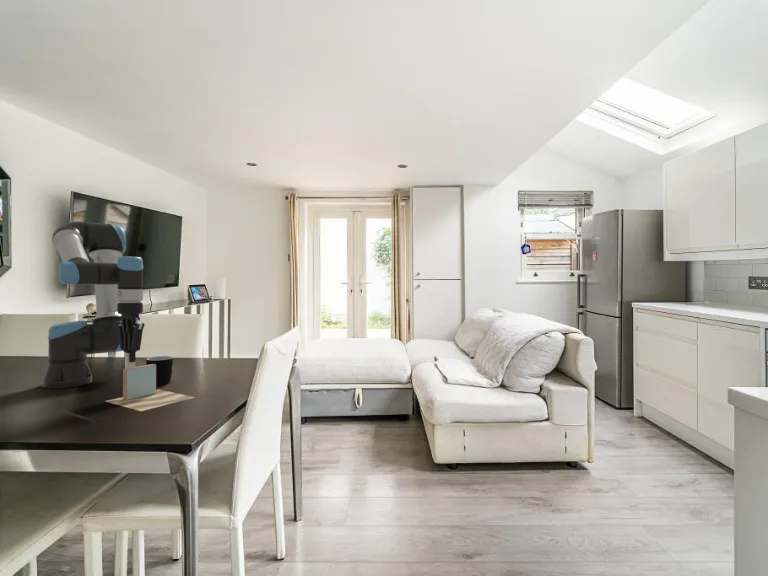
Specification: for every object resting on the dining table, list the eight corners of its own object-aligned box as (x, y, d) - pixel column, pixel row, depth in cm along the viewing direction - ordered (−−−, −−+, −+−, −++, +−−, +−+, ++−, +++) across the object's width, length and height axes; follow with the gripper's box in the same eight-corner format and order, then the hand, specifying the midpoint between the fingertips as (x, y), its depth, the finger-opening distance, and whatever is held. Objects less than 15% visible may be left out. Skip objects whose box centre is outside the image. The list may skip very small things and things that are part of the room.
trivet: (104, 403, 136) (104, 401, 136) (158, 391, 152) (158, 389, 152) (140, 413, 126) (140, 411, 126) (194, 399, 142) (194, 397, 142)
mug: (176, 384, 161) (176, 358, 161) (151, 388, 155) (151, 361, 155) (164, 379, 170) (164, 354, 170) (139, 383, 163) (140, 356, 163)
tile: (122, 399, 138) (123, 368, 138) (152, 392, 147) (153, 364, 147) (126, 400, 137) (126, 369, 137) (156, 393, 146) (156, 364, 146)
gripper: (108, 301, 145) (108, 371, 145) (129, 302, 138) (129, 375, 138) (130, 301, 151) (130, 367, 152) (152, 302, 145) (152, 371, 145)
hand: (130, 371), depth 145 cm, fingers closed
